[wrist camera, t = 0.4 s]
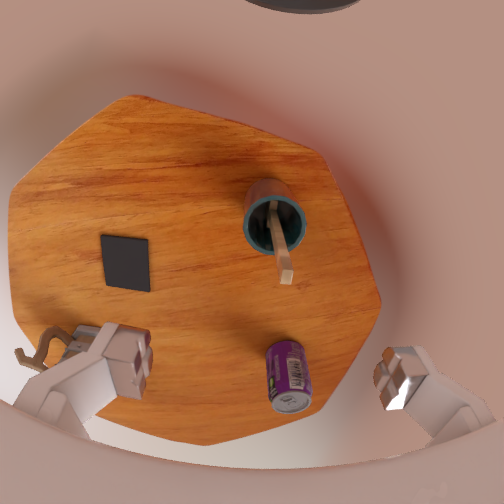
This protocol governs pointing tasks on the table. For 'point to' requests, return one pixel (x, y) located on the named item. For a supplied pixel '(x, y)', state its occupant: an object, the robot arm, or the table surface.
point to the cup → (286, 210)
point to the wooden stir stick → (278, 243)
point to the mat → (126, 262)
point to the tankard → (75, 343)
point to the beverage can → (288, 377)
